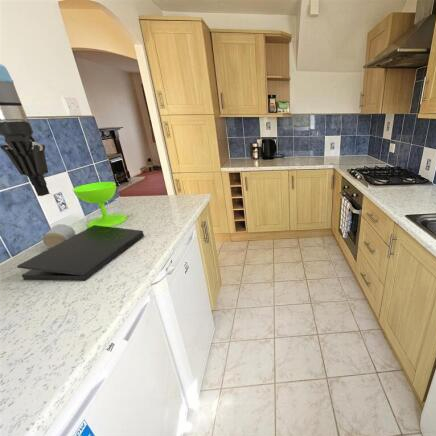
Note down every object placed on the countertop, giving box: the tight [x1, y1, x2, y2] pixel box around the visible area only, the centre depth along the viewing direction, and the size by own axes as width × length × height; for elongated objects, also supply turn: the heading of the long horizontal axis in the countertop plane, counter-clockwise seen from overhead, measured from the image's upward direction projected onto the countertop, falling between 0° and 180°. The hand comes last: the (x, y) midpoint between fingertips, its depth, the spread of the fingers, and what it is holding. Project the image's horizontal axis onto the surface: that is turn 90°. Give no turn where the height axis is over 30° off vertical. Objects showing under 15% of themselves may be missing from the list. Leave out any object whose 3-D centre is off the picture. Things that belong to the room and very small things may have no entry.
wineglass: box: [72, 181, 127, 229], centre depth 115 cm, size 16×16×18 cm
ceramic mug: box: [42, 223, 78, 249], centre depth 97 cm, size 11×8×8 cm
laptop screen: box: [16, 225, 144, 276], centre depth 89 cm, size 21×30×1 cm
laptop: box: [21, 232, 145, 282], centre depth 90 cm, size 21×30×2 cm
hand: (43, 194), depth 84 cm, fingers closed
